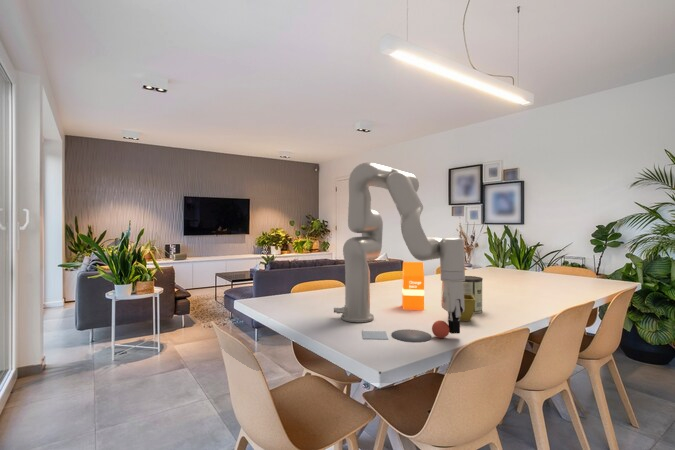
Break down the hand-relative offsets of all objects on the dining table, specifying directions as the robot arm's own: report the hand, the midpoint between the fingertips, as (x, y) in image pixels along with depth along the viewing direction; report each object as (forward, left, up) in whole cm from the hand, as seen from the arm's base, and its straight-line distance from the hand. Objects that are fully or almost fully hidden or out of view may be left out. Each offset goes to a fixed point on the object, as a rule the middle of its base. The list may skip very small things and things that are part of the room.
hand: (454, 332), depth 119 cm
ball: (-4, 0, +1) cm, 4 cm away
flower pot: (+10, +23, -2) cm, 25 cm away
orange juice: (-5, +43, -2) cm, 43 cm away
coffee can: (+18, +38, -2) cm, 42 cm away
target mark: (-13, +2, -2) cm, 14 cm away
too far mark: (-25, +2, -2) cm, 26 cm away
